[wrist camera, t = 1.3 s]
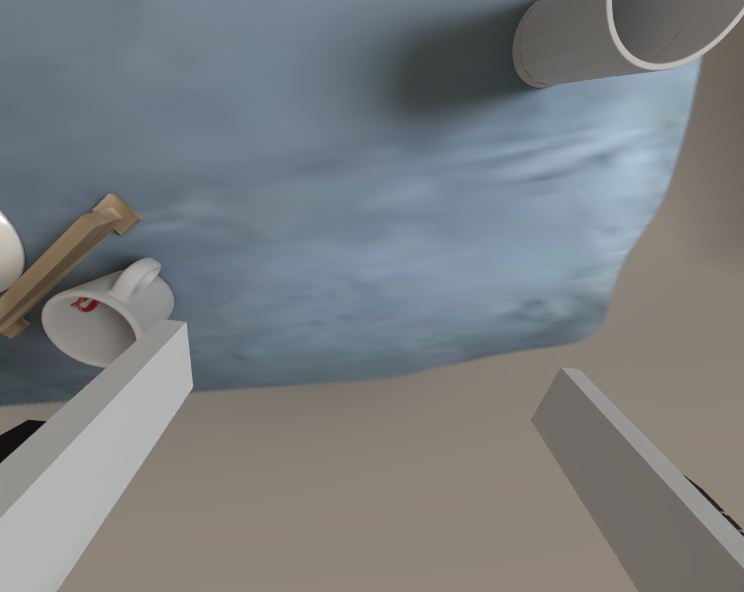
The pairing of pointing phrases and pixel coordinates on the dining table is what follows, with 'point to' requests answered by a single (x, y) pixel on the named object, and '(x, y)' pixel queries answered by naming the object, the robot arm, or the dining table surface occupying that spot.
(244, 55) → the dining table surface
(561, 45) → the cup
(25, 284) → the rail
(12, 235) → the coaster
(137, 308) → the cup
